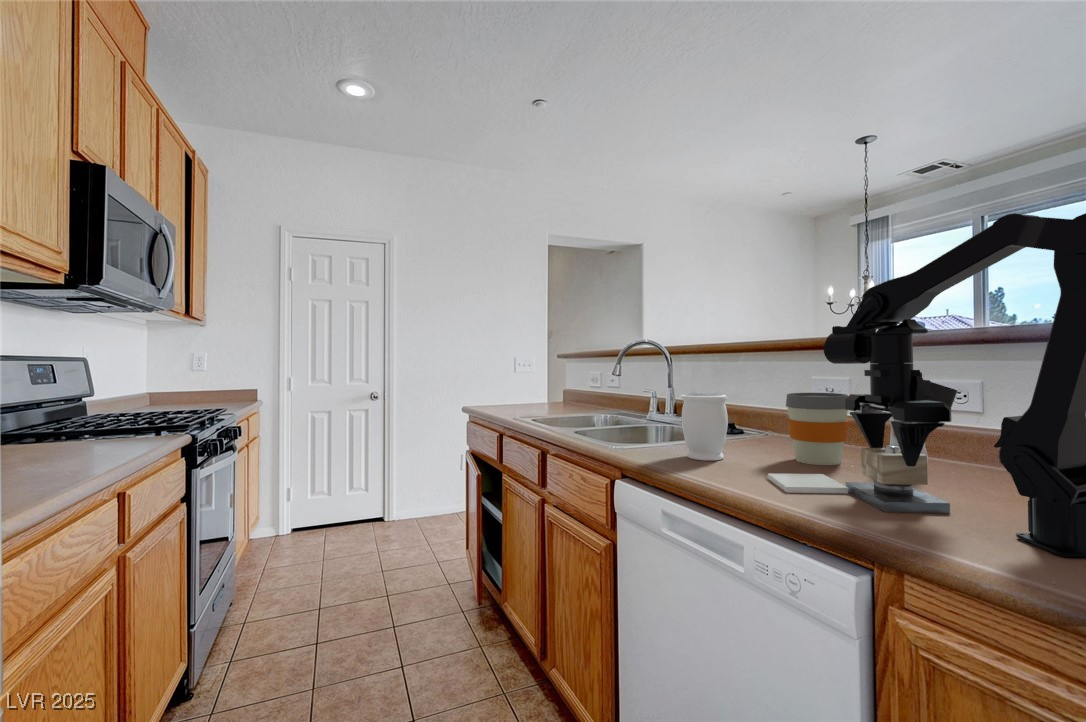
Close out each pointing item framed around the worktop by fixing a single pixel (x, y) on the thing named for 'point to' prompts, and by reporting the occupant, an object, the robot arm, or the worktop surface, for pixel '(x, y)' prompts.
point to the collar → (892, 467)
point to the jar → (704, 425)
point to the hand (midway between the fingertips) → (893, 460)
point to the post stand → (897, 495)
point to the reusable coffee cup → (817, 426)
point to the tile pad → (807, 483)
